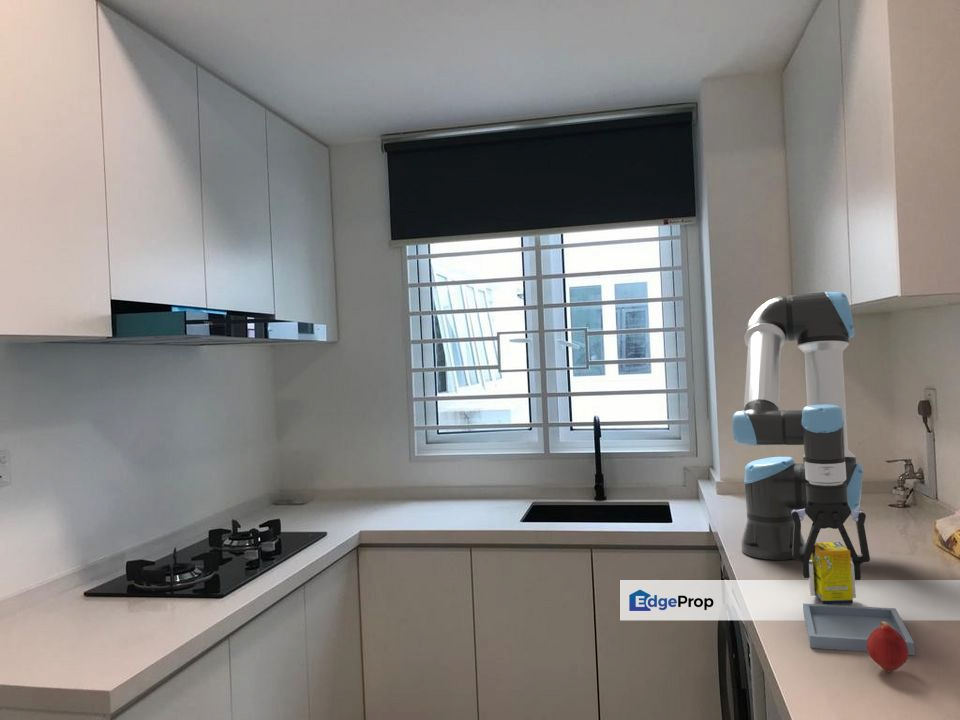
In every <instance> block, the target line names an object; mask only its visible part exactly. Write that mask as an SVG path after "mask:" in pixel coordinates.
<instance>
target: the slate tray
mask: <svg viewBox="0 0 960 720" xmlns="http://www.w3.org/2000/svg"><path fill="white" fill-rule="evenodd" d="M802 611H803V612H802V613H803V618H804V623H805V628H806V634H807V639H808V643H809V648H811V649H820V650H822V649H823V650H834V649H835V651H847V650H848V651H851V652H864V653H868V651H867V646H866V645H867V639H868V637H869V636H870V634H871V633H872V632H873V631H874V630H875V629H877V628H879V627H881V624H880V623H881V622H887V624H888V625H890V626H891V627H892V628H893V629H895V630H896V631H897V632H899V633H900V634H901V636H902V637H903V638H904V640H905V642H906V644H907V647H908V656H915V653H916V651H915V642H914V640H913V638H912V636H911V635H910V633H909V631H908V629H907V627H906V625H905V623H904V622H903V619H902V618H901V616H900V614H899V612H898V611H897V608H894V607H893V608H892V607H876V606H875V607H874V606H858V605H857V606H856V605H842V604H829V605H823V604H822V603H821V604H820V603H818V604H817V603H802Z"/></svg>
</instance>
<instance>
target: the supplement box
mask: <svg viewBox="0 0 960 720" xmlns="http://www.w3.org/2000/svg"><path fill="white" fill-rule="evenodd" d="M810 560H812V562H813V572H814V589H815V598H817V599H818V600H819V601H820V603H821V604H822V605H851V604H854V598H853V595H852V576H851V561H852V558H851V556H850V550H848V549H847V547H846V546H844V545H843V544H842V543H841V542H840V541H827V542H825V541H823V542H822V541H821V542H820V541H819V542H817V541H816V542H815V545H814V548H813V551H812V554H811V557H810Z"/></svg>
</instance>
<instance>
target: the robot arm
mask: <svg viewBox="0 0 960 720" xmlns="http://www.w3.org/2000/svg"><path fill="white" fill-rule="evenodd" d="M855 333H856V332H855V327H854V320H853V315H852V310H851V306H850V302H849V298H848V297H847V295H846V294H845V293H844V292H842V291H823V292H812V293H800V294H792V295H779V296H776V297H773V298H771V299H768V300H766V302H764V303H763V304H761V305H760V306H759V307H758V308H757V309H756V310H755V311H754V312H753V313H752V314H751V316H750V318H749V319H748V321H747V323H746V326H745V329H744V343H745V346H746V347H747V356H746V358H747V359H746V371H745V385H744V386H745V387H744V399H743V401H744V402H743V409H742V410H740V411H739V410H738V411H735V412H733V415H732V424H731V425H732V435H733V440H734V441H735V442H736V443H735V444H738V445H744V446H745V445H747V446H781V445H782V446H783V445H785V446H803V451H804V452H803V453H804V454H803V456H802V461H803V462H802V463H797V462H796V463H795V460H794V458H793V457H792V456H772V457H764V458H760V459H756V460H752V461H750V462H748V463H747V464H746V466H745V467H744V480H743V483H744V486H745V488H744V489H745V500H746V501H745V502H746V504H745V506H746V523H745V527H744V531H743V533H742V534H743V535H742V538H741V542H740V543H741V544H740V545H741V552H742V553H743V554H745V555H747V556H748V557H749V556H750V557H753V558H756V559H763V560H772V561H777V560H778V561H779V560H780V561H785V560H786V561H787V560H795V561H796V560H797V561H800V562H801V566H802V575H803V578H804V579H808V584H809V585H808V586H809V593H810V596H815V589H814V572H813V562H812V560H811V554H812V551H813V548H814V545H815V543H817V539H818V536H819V534H820V531H821V530H822V529H834V530H838V532H839V533H840V534H839V535H841V539H842V541H843V542H844V544H845V548H847V549H848V550H850V556H851V576H852V595H853V599H855V598H857V595H856V581H861V578H862V577H861V564H862V563H869V562H870V561H871V557H870V551H869V545H868V540H867V534H866V530H865V529H866V528H865V521H866V517H867V515H866V513H865V512H864V510H862V509H859V508H860V506H861V505H860V504H861V500H862V499H861V497H862V496H861V495H862V488H863V487H862V486H863V474H864V473H863V472H864V471H863V470H864V467H863V464H862V463H860V462H857V458H856V457H857V456H856V455H855V454H854V453H852V451H850V449H849V443H848V442H849V441H848V425H847V408H846V407H847V405H846V392H845V391H846V390H845V388H846V387H845V374H844V373H845V372H844V357H843V356H844V355H843V354H844V353H843V352H844V351H845V350H846V349H847V348H848V346H850V340H849V339H852V338H854V337H855ZM787 341H789V342H793V341H794V342H796V341H797V348H798V349H799V350H800V351H801V352H802V353H803V354H804V367H805V368H804V370H805V385H806V386H805V389H806V406H804V407H803V409H800V410H799V409H797V410H796V409H795V410H792V409H791V410H790V409H789V410H785V409H784V410H780V399H781V397H780V394H781V391H780V390H781V349H782V347H784V345H785V342H787ZM805 515H806V516H807V517H808V518H809V520H811V521H812V524H811V527H810V530H809V534H808V536H807V540H805V538H804V536H803V532H802V521H803V520H804V519H805V518H804V517H805ZM850 516H852V520H853V521H854V522H855V526H856V531H857V536H858V537H857V539H858V544H859V549H860V554H857V552H856V550H855V547H854V544H853V543H852V541H851V539H850V536H849V534H848V532H847V530H846V528H845V525H844V523H845V522H846V521H847V520H848V518H849V517H850ZM815 597H816V596H815Z"/></svg>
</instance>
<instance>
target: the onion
mask: <svg viewBox="0 0 960 720" xmlns="http://www.w3.org/2000/svg"><path fill="white" fill-rule="evenodd" d="M880 624H881V627H879V628H877V629H875V630H874V631H873V632H872V633H871V634H870V636H869V637H868V639H867V645H866V646H867V651H868V652H867V654H868V655H869V657H870V658H871V660H872V661H874V663H875V664H877V665H878V666H879V667H881V668H882V670H884V671H885V672H888V673H890V672H893V671H895V670H898V669H900V668H901V667H902V666H903V665H904V664H905V663H906V662H907V660H908V658H909V655H908V647H907V644H906V642H905V640H904V638H903V637H902V636H901V634H900V633H899V632H897V631H896V630H895V629H893V628H892V627H891V626H890V625H888V624H887V622H881V623H880Z"/></svg>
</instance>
